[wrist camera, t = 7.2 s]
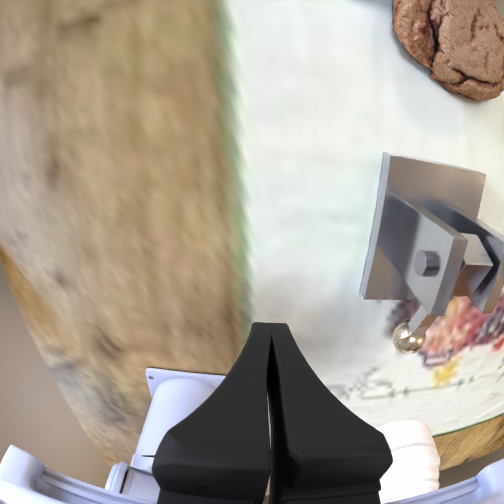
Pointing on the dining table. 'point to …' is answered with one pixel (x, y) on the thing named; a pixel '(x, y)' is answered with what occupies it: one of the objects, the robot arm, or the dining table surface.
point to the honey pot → (409, 461)
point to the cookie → (455, 43)
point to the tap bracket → (428, 235)
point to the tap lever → (470, 276)
